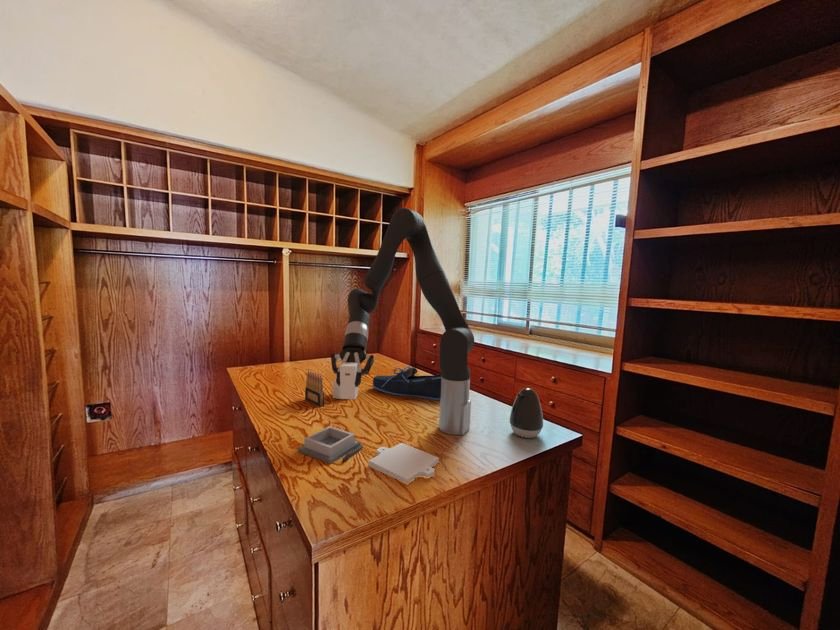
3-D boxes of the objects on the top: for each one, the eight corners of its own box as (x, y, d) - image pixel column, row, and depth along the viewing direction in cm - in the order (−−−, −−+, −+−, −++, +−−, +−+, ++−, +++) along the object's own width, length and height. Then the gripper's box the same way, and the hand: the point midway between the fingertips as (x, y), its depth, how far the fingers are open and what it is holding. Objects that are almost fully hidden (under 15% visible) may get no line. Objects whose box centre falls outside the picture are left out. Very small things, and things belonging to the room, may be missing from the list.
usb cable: (360, 446, 98) (361, 443, 98) (363, 447, 97) (363, 444, 97) (341, 461, 90) (341, 457, 89) (344, 462, 89) (344, 458, 89)
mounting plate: (361, 464, 89) (361, 457, 89) (394, 446, 100) (395, 439, 99) (415, 491, 78) (416, 483, 78) (446, 468, 89) (447, 461, 89)
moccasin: (378, 384, 157) (379, 359, 156) (454, 391, 150) (455, 365, 149) (368, 394, 143) (368, 366, 142) (450, 402, 137) (452, 373, 135)
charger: (357, 394, 106) (358, 362, 105) (354, 399, 102) (355, 366, 101) (343, 393, 106) (343, 362, 105) (339, 398, 102) (340, 365, 101)
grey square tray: (360, 445, 98) (360, 433, 98) (330, 464, 88) (330, 450, 88) (329, 434, 104) (329, 423, 104) (297, 451, 94) (297, 439, 93)
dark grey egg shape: (501, 433, 110) (504, 386, 108) (520, 425, 116) (523, 381, 115) (530, 445, 102) (533, 395, 101) (548, 436, 109) (552, 389, 107)
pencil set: (304, 399, 134) (304, 369, 132) (309, 398, 135) (309, 368, 134) (319, 407, 126) (320, 375, 125) (324, 406, 128) (324, 374, 127)
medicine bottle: (350, 399, 136) (351, 369, 134) (332, 398, 136) (332, 369, 134) (354, 393, 143) (354, 365, 141) (337, 392, 143) (337, 364, 142)
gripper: (332, 330, 110) (321, 378, 99) (376, 332, 110) (370, 380, 99) (336, 344, 116) (326, 390, 105) (378, 345, 115) (372, 392, 105)
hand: (347, 385), depth 102 cm, fingers closed on charger, 4 cm apart
